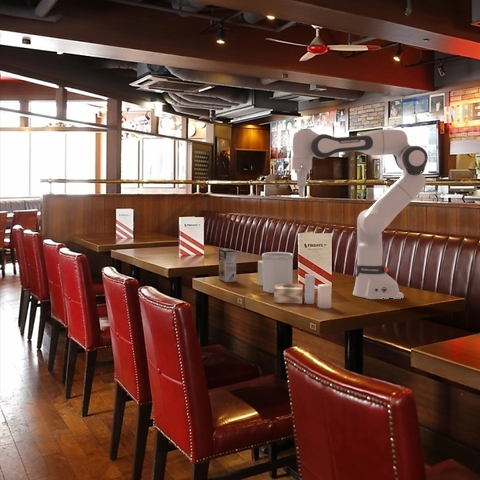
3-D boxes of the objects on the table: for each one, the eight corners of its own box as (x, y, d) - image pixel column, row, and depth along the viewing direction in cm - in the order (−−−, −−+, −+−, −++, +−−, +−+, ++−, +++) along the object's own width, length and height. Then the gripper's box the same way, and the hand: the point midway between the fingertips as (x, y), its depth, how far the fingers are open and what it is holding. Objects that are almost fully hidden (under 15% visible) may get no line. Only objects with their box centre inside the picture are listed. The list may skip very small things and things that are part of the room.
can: (276, 286, 271) (276, 262, 269) (257, 285, 271) (257, 261, 270) (275, 282, 280) (275, 259, 279) (257, 282, 280) (257, 259, 279)
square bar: (313, 301, 236) (314, 274, 235) (314, 303, 232) (314, 275, 231) (304, 301, 237) (305, 273, 235) (304, 303, 233) (305, 275, 231)
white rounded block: (330, 305, 229) (331, 284, 228) (331, 308, 224) (331, 286, 223) (317, 305, 230) (317, 283, 229) (317, 308, 224) (317, 286, 223)
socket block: (302, 297, 245) (302, 284, 244) (302, 303, 233) (302, 289, 232) (275, 296, 246) (275, 283, 245) (273, 302, 234) (274, 288, 233)
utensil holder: (265, 294, 251) (266, 256, 249) (258, 287, 266) (258, 252, 264) (296, 293, 254) (297, 255, 252) (287, 287, 269) (288, 251, 267)
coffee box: (218, 279, 288) (218, 248, 287) (229, 278, 291) (229, 248, 289) (225, 282, 280) (225, 250, 278) (236, 281, 283) (236, 250, 281)
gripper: (309, 165, 236) (308, 197, 237) (309, 166, 256) (308, 196, 257) (294, 164, 236) (293, 197, 238) (295, 166, 256) (294, 195, 258)
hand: (301, 196), depth 248 cm, fingers open, 8 cm apart
